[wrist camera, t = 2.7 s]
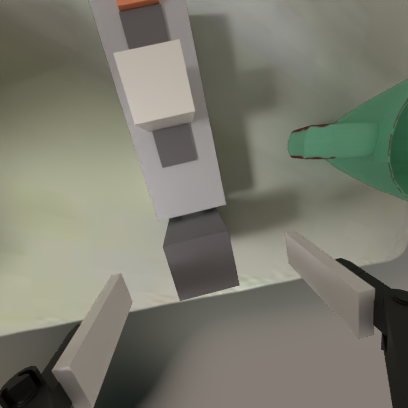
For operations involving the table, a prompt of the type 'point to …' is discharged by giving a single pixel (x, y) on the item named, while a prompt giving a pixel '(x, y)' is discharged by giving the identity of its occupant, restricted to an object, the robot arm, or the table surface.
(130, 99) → the block
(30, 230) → the table surface
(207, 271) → the grey rectangular block
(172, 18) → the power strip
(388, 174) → the mug
